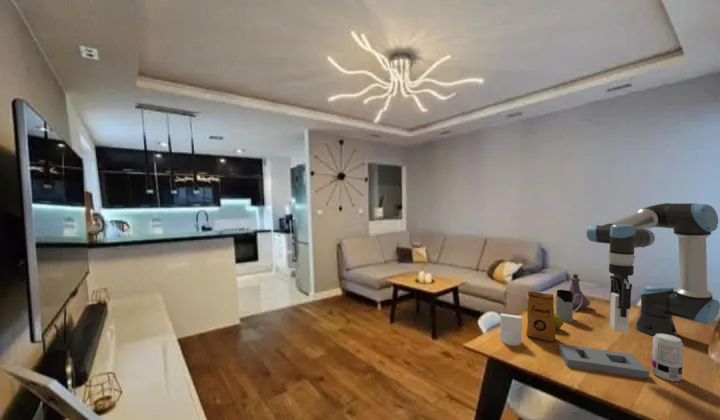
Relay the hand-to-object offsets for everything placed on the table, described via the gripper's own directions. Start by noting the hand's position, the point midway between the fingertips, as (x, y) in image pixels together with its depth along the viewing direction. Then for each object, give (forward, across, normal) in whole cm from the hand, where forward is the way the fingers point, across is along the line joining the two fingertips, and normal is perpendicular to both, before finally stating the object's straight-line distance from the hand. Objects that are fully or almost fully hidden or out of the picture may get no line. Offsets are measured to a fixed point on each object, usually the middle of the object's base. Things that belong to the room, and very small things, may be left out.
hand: (619, 321), depth 126 cm
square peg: (+3, 0, 0) cm, 3 cm away
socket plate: (+18, 0, +6) cm, 19 cm away
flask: (+18, +73, -3) cm, 75 cm away
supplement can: (+18, -2, -14) cm, 23 cm away
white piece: (+18, +10, +38) cm, 43 cm away
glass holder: (+18, +51, +5) cm, 54 cm away
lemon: (+18, +33, +17) cm, 41 cm away
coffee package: (+18, +19, +24) cm, 36 cm away
